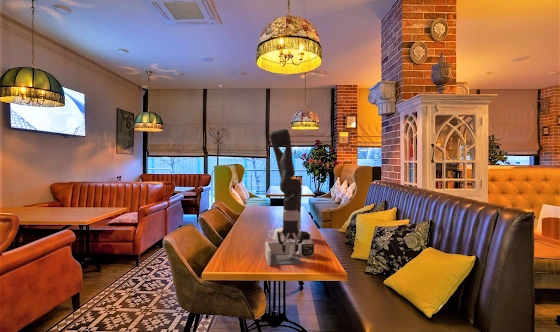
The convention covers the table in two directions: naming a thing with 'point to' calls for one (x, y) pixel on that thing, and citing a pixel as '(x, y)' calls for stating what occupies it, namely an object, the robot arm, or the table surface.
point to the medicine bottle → (306, 246)
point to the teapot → (276, 235)
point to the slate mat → (288, 262)
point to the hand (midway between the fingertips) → (290, 251)
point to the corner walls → (276, 249)
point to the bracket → (286, 257)
